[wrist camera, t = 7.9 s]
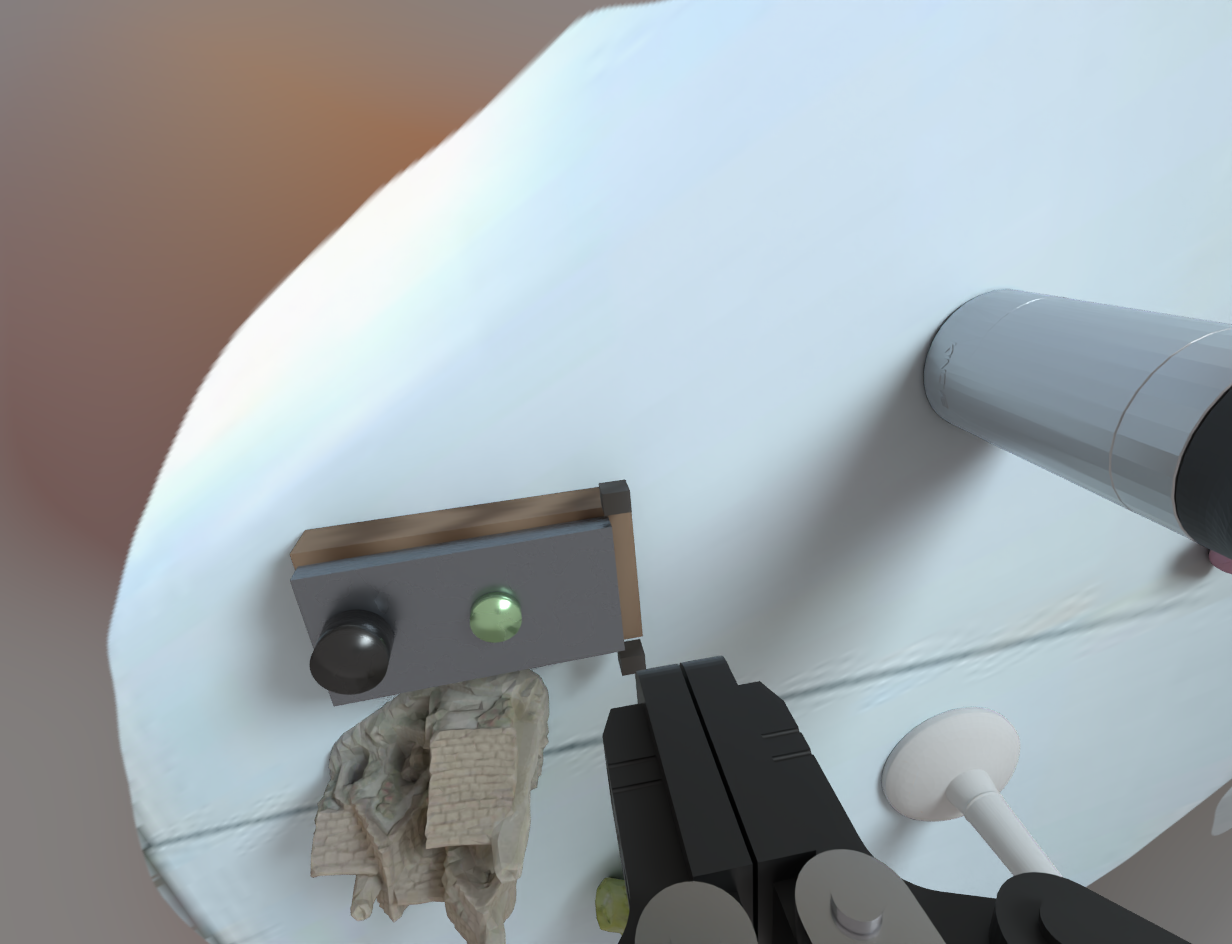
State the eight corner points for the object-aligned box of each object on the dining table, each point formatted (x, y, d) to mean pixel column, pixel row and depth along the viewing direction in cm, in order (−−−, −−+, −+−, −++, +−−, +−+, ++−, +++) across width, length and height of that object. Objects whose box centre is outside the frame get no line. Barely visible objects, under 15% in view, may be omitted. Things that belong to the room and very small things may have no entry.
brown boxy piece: (620, 460, 40) (633, 490, 36) (636, 628, 46) (649, 670, 41) (297, 506, 38) (271, 543, 34) (353, 677, 44) (336, 726, 39)
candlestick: (860, 811, 57) (1179, 1362, 30) (916, 701, 53) (1349, 1226, 26) (977, 817, 60) (1365, 1323, 33) (1039, 712, 56) (1546, 1195, 28)
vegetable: (568, 847, 50) (756, 869, 44) (629, 802, 62) (785, 815, 56) (571, 1025, 47) (772, 1073, 42) (634, 943, 59) (799, 972, 53)
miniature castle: (571, 668, 46) (575, 869, 32) (523, 822, 52) (509, 1046, 38) (350, 632, 43) (253, 835, 30) (327, 799, 49) (237, 1031, 36)
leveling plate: (607, 515, 38) (619, 546, 35) (620, 635, 42) (632, 675, 38) (297, 566, 36) (276, 605, 32) (339, 689, 39) (324, 736, 36)
